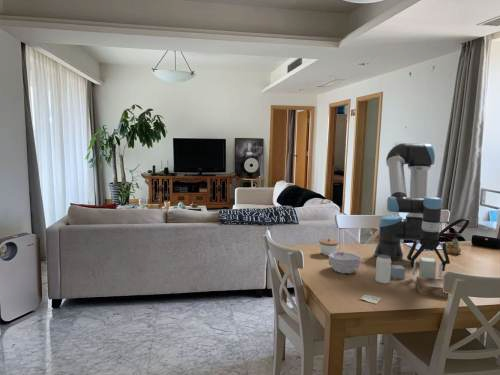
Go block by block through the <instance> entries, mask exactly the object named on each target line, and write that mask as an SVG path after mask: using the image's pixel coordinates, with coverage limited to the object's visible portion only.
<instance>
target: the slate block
mask: <svg viewBox="0 0 500 375" xmlns="http://www.w3.org/2000/svg"><path fill="white" fill-rule="evenodd" d="M405 272H406V268H404V266H403V265H401V264H399V265H398V264H391V274H390V277H392V278H393V279H395V278H399V280H402V279H403V280H404V279H405V274H406V273H405Z"/></svg>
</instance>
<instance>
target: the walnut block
mask: <svg viewBox="0 0 500 375" xmlns="http://www.w3.org/2000/svg"><path fill="white" fill-rule="evenodd" d="M443 279H444V278H443ZM443 279H442V278H436V277H435V278H426V277H419V276H416V283H415V286H416V288H417V290H418V294H419V295H422V294H424V295H423V296H430V295H432V297H438V296H445V297H444V298H446V297H448V298H449V295H450V293H445V292H443Z"/></svg>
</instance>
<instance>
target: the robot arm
mask: <svg viewBox="0 0 500 375" xmlns="http://www.w3.org/2000/svg"><path fill="white" fill-rule="evenodd" d="M435 157H436V155H435V150H434V147H433V145H431V143H425V142H424V143H404V142H403V143H398V144H397V145H395V146H394V147H392V148H391V149H390V150H389V151H388V154H387V155H386V158H385V159H386V160H385V161H386V167H388V175H389V178H388V179H389V190H390V196H388V197H387V199H386V209H387V211H388V212H390V213H392V212H393V213H402V214H406V216H405V218H403V216H402V215H385V216H382V217H380V220H379V224H378V226H379V230H378V231H379V232H378V242H377V244H376V248H375V250H374V256H375V258H377V257H378V255H388V256H390V257H391V261H401V260H403V258H404V253H403V250H402V244H401V241H412V245H411V247H410V249H409V252H408V254H407V257H406V258H407V260H408V261H410V268H411V269H412V275H413V276H415V275H416V266H417V265H416V264H417V262H416V260H417V258H418V257H419V256H420V255H421V254H422V252H424V251H434V252H435V253H436V255H437V257H438V259H439V261H440V262H439V267H438V268H439V270H438V277H439V278H438V279H442V278H443V272H445V271H446V265H448V264H451V261H450V257H449V255H448V254H449V253H447V251H446V245H447V243H446V242H445V241H442V242H441V241H440V232H439V231H440V228H441V225H440V224H441V214H442V207H443V205H442V204H443V203H442V200H443V199H442V198H441V197H436V196H427V195H428V194H427V193H428V192H427V191H428V189H427V188H428V171H429V170H431V167H432V165H434V164H435V161H436V160H435V159H436V158H435ZM405 165H407V168H408V169H409V170H410V178H409V179H410V180H409V181H410V182H409V197H408V194H407V186H406V184H407V183H406V177H405V169H404V166H405ZM419 244H420V245H421V246H420V247H419V248H418V250H417V251H416V252H415V250H416V248H417V246H418V245H419ZM438 246H440V247H441V249H442V252H443V256H444V258H445V260H444V258H443V257H442V255H441V254H440V251H439V250H438V249H437V248H438ZM414 252H415V253H414Z"/></svg>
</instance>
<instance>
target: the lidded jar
mask: <svg viewBox="0 0 500 375" xmlns="http://www.w3.org/2000/svg"><path fill="white" fill-rule="evenodd" d="M318 242H319V245H318V246H319V250H320V252H321V254H322V255H323V254H324V255H323V256H325V255H329V254H330V253H333V252H338V249H339V241H338V240H336V239H332V238H322V239H319V241H318Z"/></svg>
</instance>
